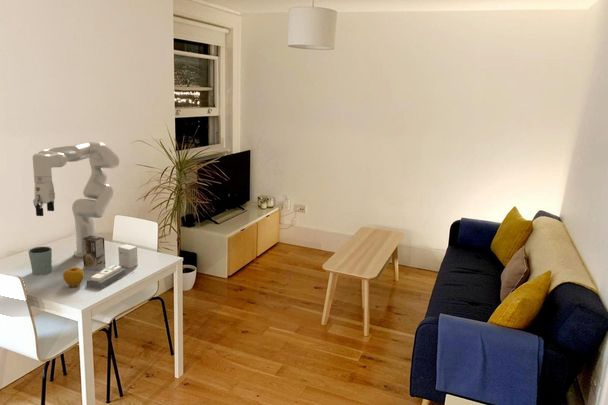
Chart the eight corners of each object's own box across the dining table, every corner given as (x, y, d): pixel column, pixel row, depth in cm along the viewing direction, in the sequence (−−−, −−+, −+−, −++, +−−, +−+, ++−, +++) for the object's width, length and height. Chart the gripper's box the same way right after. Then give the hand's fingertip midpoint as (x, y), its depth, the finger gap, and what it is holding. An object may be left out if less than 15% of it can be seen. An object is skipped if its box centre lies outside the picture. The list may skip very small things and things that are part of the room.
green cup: (48, 276, 226) (47, 253, 223) (26, 276, 225) (24, 253, 222) (56, 268, 236) (54, 246, 233) (34, 268, 234) (33, 246, 231)
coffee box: (106, 266, 242) (104, 237, 238) (97, 270, 236) (95, 241, 232) (92, 263, 245) (90, 235, 241) (82, 267, 239) (81, 238, 235)
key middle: (105, 274, 228) (105, 268, 227) (113, 276, 227) (113, 270, 226) (99, 278, 224) (99, 272, 223) (107, 279, 223) (107, 273, 222)
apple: (75, 280, 223) (74, 263, 221) (89, 284, 220) (88, 266, 218) (59, 286, 215) (58, 269, 213) (73, 291, 212) (72, 272, 210)
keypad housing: (111, 271, 236) (111, 266, 235) (125, 274, 234) (125, 268, 233) (86, 286, 218) (86, 280, 217) (101, 288, 216) (101, 282, 215)
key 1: (97, 279, 222) (97, 273, 222) (105, 280, 221) (105, 274, 221) (91, 282, 218) (90, 276, 217) (99, 284, 217) (99, 278, 216)
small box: (138, 265, 246) (137, 246, 244) (130, 268, 242) (129, 249, 239) (126, 262, 250) (126, 243, 247) (118, 265, 245) (118, 246, 242)
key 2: (113, 270, 234) (113, 264, 233) (121, 271, 233) (121, 266, 232) (107, 273, 229) (107, 267, 229) (115, 275, 228) (115, 269, 228)
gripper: (40, 183, 213) (43, 218, 217) (60, 176, 230) (62, 209, 234) (24, 182, 213) (27, 217, 217) (45, 175, 230) (47, 208, 234)
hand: (45, 213), depth 225 cm, fingers open, 9 cm apart
